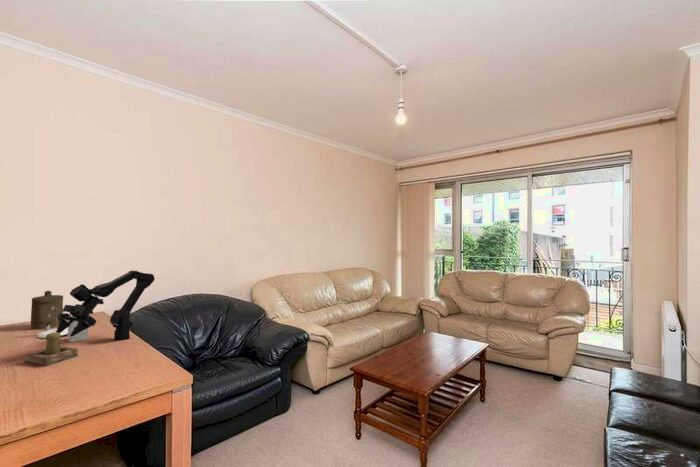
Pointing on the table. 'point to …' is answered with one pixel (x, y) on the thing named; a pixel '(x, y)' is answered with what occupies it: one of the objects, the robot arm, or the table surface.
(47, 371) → the table surface
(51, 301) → the wooden container
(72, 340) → the supplement box
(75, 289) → the robot arm
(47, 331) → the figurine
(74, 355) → the walnut pocket block
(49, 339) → the olive mushroom shape
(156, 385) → the table surface
